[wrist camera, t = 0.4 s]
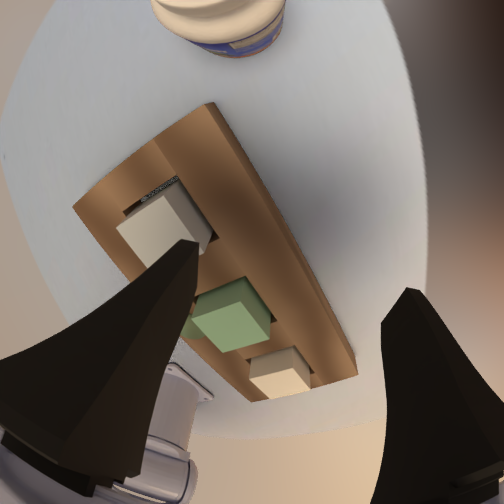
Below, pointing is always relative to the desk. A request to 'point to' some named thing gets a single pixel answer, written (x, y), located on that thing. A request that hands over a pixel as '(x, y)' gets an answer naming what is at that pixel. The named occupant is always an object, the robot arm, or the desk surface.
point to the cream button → (280, 372)
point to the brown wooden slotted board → (226, 245)
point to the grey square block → (165, 224)
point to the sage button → (233, 315)
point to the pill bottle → (223, 23)
